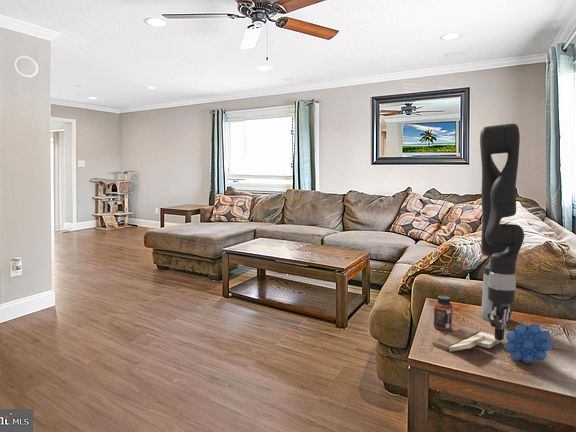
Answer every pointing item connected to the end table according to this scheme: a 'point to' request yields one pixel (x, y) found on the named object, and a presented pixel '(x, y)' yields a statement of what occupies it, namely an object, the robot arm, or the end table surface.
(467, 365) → the end table surface
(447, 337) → the laid plank
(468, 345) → the plank
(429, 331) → the end table surface
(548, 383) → the end table surface
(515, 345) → the grapes
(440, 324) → the supplement bottle
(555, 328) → the end table surface
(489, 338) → the plank
